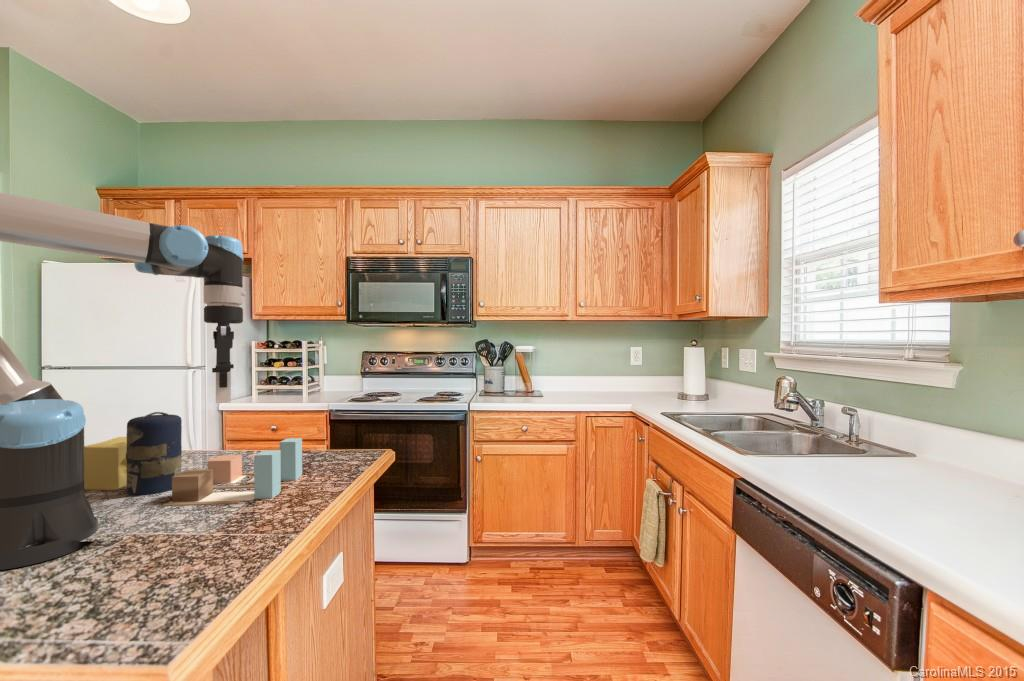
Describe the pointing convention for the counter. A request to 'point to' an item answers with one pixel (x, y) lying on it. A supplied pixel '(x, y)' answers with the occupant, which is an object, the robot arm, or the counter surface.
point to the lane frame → (215, 501)
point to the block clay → (226, 468)
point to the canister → (153, 453)
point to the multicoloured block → (256, 480)
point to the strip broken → (288, 460)
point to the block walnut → (192, 485)
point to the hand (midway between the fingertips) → (223, 399)
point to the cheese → (105, 465)
